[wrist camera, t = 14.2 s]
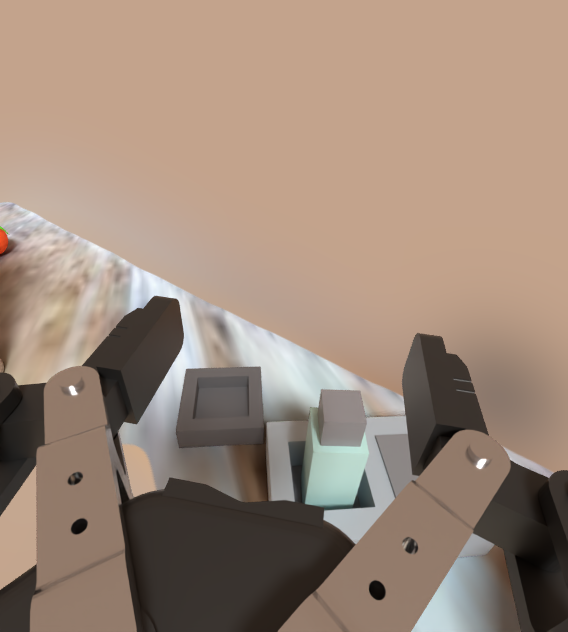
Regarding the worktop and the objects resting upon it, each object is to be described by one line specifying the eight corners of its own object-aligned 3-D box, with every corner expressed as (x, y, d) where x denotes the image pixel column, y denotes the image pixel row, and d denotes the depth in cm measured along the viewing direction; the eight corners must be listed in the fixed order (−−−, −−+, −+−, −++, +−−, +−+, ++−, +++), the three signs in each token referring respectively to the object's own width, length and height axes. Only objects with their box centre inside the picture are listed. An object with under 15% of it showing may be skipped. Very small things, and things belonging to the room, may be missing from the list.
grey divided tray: (272, 573, 33) (274, 544, 30) (265, 452, 43) (266, 420, 39) (485, 555, 35) (511, 526, 32) (433, 443, 45) (448, 412, 41)
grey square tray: (179, 447, 43) (175, 431, 41) (188, 384, 50) (186, 368, 48) (263, 443, 44) (263, 427, 42) (260, 382, 51) (260, 366, 49)
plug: (302, 519, 36) (317, 428, 28) (301, 476, 39) (313, 383, 31) (348, 520, 36) (376, 430, 28) (342, 477, 40) (366, 385, 31)
